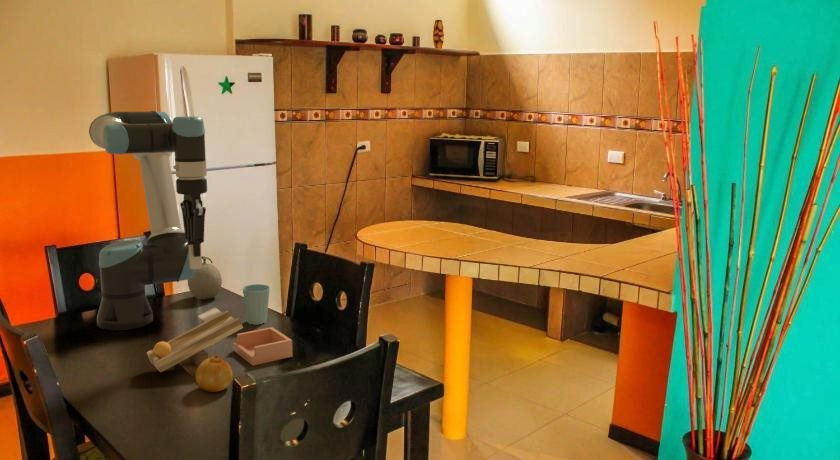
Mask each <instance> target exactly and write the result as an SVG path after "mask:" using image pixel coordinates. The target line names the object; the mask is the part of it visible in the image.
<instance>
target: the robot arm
mask: <svg viewBox="0 0 840 460" xmlns="http://www.w3.org/2000/svg"><path fill="white" fill-rule="evenodd" d="M204 123H205V122H204V119H203V118H202V117H201V116H175V117H174V118H172V117H171V115H170V114H169V113H167V112H166V111H156V110H150V111H112V112H111V111H110V112H107V113H104V114H102V115H99V116H97V117H96V118H94V119H93V121H92V122H91V123H90V125H89V129H88V133H89V138H90V140H91V142H92V143H93V144H94V145H96V147H99V148H101V149H103V150H105V152H106V153H107V154H108V155H109V154H110V155H127V154H129V155H130V154H132V155H133V157H134V159H136V160H138V161H139V166H140V173H141V178H142V184H143V190H144V196H145V197H144V198H145V202H146V203H145V204H146V210H147V215H148V221H149V229H150V235H149V237H147V240H146V244H143V241H141V240H139V239H137V240H136V239H132V240H131V239H130V240H122V241H117V242H113V243H110V244H107V245H106V246H104V247H103V248H102V249H101V250H100V251H99V255H98V257H99V260H98V267H99V274H100V289H101V291H100V292H101V300H100V304H99V309H98V312H97V316H96V326H97V327H98V328H99V329H102V330H108V331H127V330H134V329H135V330H136V329H140V328H143V327H145V326H147V325H150V324H151V323H152V322H153V321H154V315H153V310H152V307H151V305H150V303H149V300H148V298H147V295H146V286H149V285H157V284H158V285H159V284H166V283H173V282H175V283H178V282H181V281H188V279H191V278H192V277H193V276H194V274H195V271H196V269H198V268H202V263H203V261H202V260H203V259H202V258H201V256H202V243H205V218H206V211H207V209H206V207H205V206H203V205H204V204H203V200H202V197H201V195H202V194H206V193H207V192H208V181H207V180H208V179H207V178H206V176H207V175H208V172H207V159H206V158H207V157H206V138H205V137H206V136H205V134H206V129H205V124H204ZM173 153H174V164H175V165H173V166H171V161H170V157H171V156H172V155H173ZM171 167H173V168H171ZM172 169H173V170H175V177H176V178H177V179H176V180H175V186H174V179H173V174H172ZM175 189H176V191H175ZM176 193H177V194H178V195H183V200H182V201H181V202H179V203H180V204H179V205H180V208H181V213H182V214H181V215H182V222H183V229H184V230H182V226H181V220H180V215H179V214H180V213H179V209H178V202H177V197H176Z"/></svg>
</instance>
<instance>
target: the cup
mask: <svg viewBox="0 0 840 460" xmlns="http://www.w3.org/2000/svg"><path fill="white" fill-rule="evenodd" d="M270 292H271V291H270V285H267V284H263V283H262V284H261V283H258V284H249V285H248V284H247V285H246V286H245V285H244V287H242V294H243V300H244V308H245V314H246V320H247V323H248V325H252V324H253V325H254V326H258V325H259V324H260V325H263V323H264V324H265V323H267V321H268V312H269V301H270V300H269V298H270Z"/></svg>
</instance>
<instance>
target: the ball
mask: <svg viewBox="0 0 840 460" xmlns="http://www.w3.org/2000/svg"><path fill="white" fill-rule="evenodd" d="M167 342H168V341H159V342H157V343H156V344H155V345H154V347H153V352H154V354H155V355H156V356H157V357H158V358H163V357H165V356H167V355H169V354H170V352H171V347H170V345H169V344H168V343H167Z"/></svg>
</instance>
